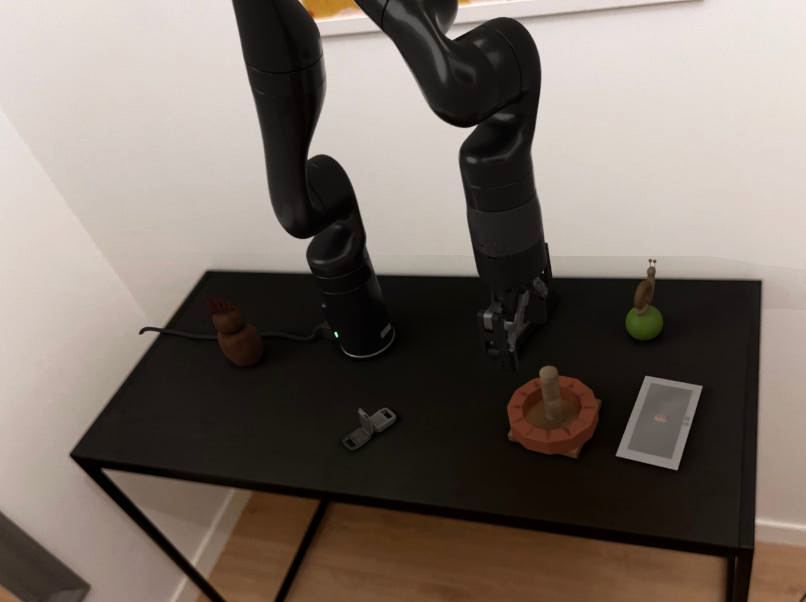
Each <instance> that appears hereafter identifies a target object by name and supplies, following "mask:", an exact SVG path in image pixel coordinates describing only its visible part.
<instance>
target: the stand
mask: <svg viewBox="0 0 806 602" xmlns="http://www.w3.org/2000/svg"><path fill="white" fill-rule="evenodd" d="M558 370H559V369H558V368H556V366H553V365H546V366H543V367H542V368H540V370H539V378H540V381H541V387H542V394H543V400H540V401H539V402H537V403H536V404H534V405H533V406H531V407H530V408H529V409H528V411H527V413H526V415H525V417H524V419H525V420H526V421H527V422H529V423H530V424H531V425H532V426H533V427H535V428H539V429H543V430H548V431H550V430H555V429H561V428H565V427H567V426H568V425H570V424H571V423H573V422H574V421H576V420H577V419H578V417H579V414H580V412H581V409H580V408H579V407H578V406H577V405H575V404H574V403H573V402H572V401H570V400H566V399H561V393H560V385H559V377H558V375H559V371H558ZM595 400H596V403H597V406H598V413H599V412H600V410H601V408H602V399H599V398H595ZM507 437H508V441H511V442H515V443H517V444H521V443H520V442H519V441H518V440H517V439H515V438H514V437H513V435H512V431H511V429H510V430H509V432H508V434H507ZM584 444H585V443H583V444H582V445H581V446H579V447H578V448H576V449H575V450H573V451H568V452H563V453H557V454H559V455H562V456H564V457H565V456H566V457H568V458H573V459H578V457H579V455H580V453H581V451H582V448H583V446H584Z"/></svg>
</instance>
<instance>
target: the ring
mask: <svg viewBox="0 0 806 602" xmlns="http://www.w3.org/2000/svg"><path fill="white" fill-rule="evenodd" d="M558 377H559V385H560V393H561V399H566V400H570V401H572V402H573V403H574V404H575V405H577V406H578V407H579V408H580V409H581V412H580V414H579V417H578V419H577V420H576V421H574V422H573V423H571V424H570V425H568V426H567V427H565V428H561V429H555V430H550V431H548V430H543V429H539V428H535V427H533V426H532V425H531V424H530V423H529V422H527V421H526V420H525V419H524V417H525V415H526V413H527V411H528V409H529V408H530V407H531V406H533V405H534V404H536V403H537V402H539V401H540V400H543V394H542V387H541V381H540V377H536V378H532V379H531V380H530V381H527V382H526V383H525V384H523V385H522V386H521V387H519V388H517V389H516V390H514V393H513V394H512V396H511V398H510V400H509V402H508V404H507V406H506V409H507V415H508V421H509V425H510V430H511V431H512V435H513V437H514V438H515V439H517V440H518V441H519V442H520V443H519V444H521V446H523V447H524V448H525V449H526V450H528V451H533V452H537V453H541V454H545V455H550V456H551V455H557V454H558V453H563V452H568V451H573V450H575V449H576V448H578V447H579V446H581V445H582V444H583V443H584V444H585V443H586V442H588V441H589V440H591V439H592V438H593V435H594V433H595V431H596V429H597V426H598V423H599V421H600V418H599V412H598V406H597V403H596V400H595V399H596V396H595V394H594V390H592V389H591V388H590V387H588V386H587V385H586V384H584V383H583V382H582V381H581V380H580V379H578V378H574V377H569V376H564V375H559V374H558ZM584 444H583V445H584Z"/></svg>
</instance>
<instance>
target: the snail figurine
mask: <svg viewBox="0 0 806 602" xmlns="http://www.w3.org/2000/svg"><path fill="white" fill-rule="evenodd" d="M657 262H658V260H657V259H653V258H649V259H648V263H649V267H648V268H647V269H646V274H647V275H646V276H647V277H646V279H645V280H642V281H641V282H639V284H638V286H637V288H636V290H635V293H634V297H633V308H631V310H629V312H628V313H627V315H626V318H625V328H626V330H627V332H628V334H629V335H630V336H631V337H633V338H634V339H635V340H637V341H638V340H639V341H650V340H653V339H654V338H656V337H657V336H659V334H660V333H661V331H662V330H663V327H664V326H663V325H664V319H663V315H662V313H661V312H660V311H659V309H658V308H656V307H655V306H653V305H651V304H652V300H653V298H654V293H655V286H656V273H657V269H656V263H657ZM651 263H653V265H654V266H652V264H651Z"/></svg>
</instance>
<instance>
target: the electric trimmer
mask: <svg viewBox="0 0 806 602" xmlns="http://www.w3.org/2000/svg"><path fill="white" fill-rule="evenodd" d="M557 301H558V295H557V291H556V289H555V288H554V287H552V286H551V287H548V288H547V296H546V298H545V303H546V311H547V317H548V316H549V314H550V313H551V312H552V310H553V309H554V306H555V305H556V303H557ZM542 325H543V324H537V323H532V322H530V321H529V319H528V313H527V311H525V312H524V318H523V325H522V329H521V330H520V331H518V332H517V336H516V342H515V346H516V351H517V353H518V352H519V348H520V346H521V345H522V344H523V343H524V342H525V340H526V339H527V338H528V337H529V336H530V335H531V333H532V332H533V331H534V329H535V328H538V327H541V326H542ZM505 335H506V340H508V335H509V331H508V330H506V331H505Z"/></svg>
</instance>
